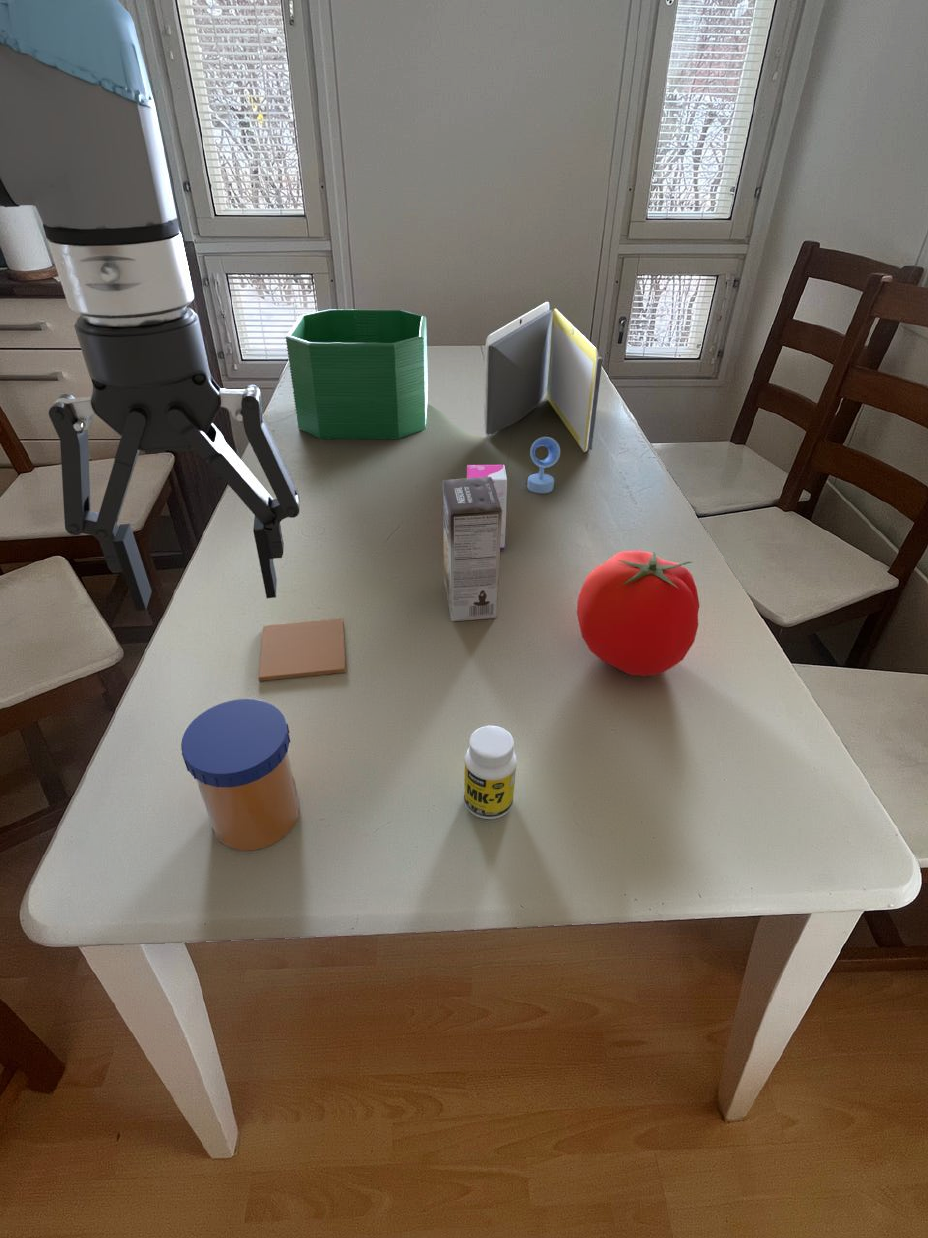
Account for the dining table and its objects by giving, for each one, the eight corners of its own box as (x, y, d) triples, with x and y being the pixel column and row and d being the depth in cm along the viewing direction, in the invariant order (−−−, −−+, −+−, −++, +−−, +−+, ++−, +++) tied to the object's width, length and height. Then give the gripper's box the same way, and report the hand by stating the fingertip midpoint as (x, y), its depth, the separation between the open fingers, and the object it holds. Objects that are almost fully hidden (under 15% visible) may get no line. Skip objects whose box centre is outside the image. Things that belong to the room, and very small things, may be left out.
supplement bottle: (458, 815, 65) (458, 755, 60) (470, 777, 69) (471, 717, 64) (508, 825, 65) (512, 765, 60) (517, 786, 68) (522, 727, 63)
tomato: (708, 689, 80) (737, 592, 71) (595, 705, 77) (612, 606, 69) (652, 610, 92) (671, 519, 84) (553, 622, 90) (563, 529, 81)
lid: (182, 798, 56) (177, 784, 54) (187, 721, 62) (182, 708, 61) (293, 776, 57) (290, 762, 56) (286, 704, 64) (284, 690, 63)
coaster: (258, 681, 80) (258, 677, 80) (264, 629, 88) (263, 625, 88) (345, 672, 82) (345, 668, 81) (343, 621, 89) (342, 617, 89)
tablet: (604, 452, 132) (619, 347, 121) (493, 460, 129) (497, 352, 117) (554, 390, 160) (562, 300, 148) (461, 395, 157) (462, 303, 145)
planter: (293, 439, 136) (279, 343, 125) (314, 393, 157) (303, 308, 146) (425, 439, 137) (422, 344, 126) (428, 394, 157) (426, 309, 146)
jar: (207, 856, 62) (179, 780, 55) (218, 786, 68) (194, 710, 62) (298, 844, 63) (281, 768, 57) (300, 776, 69) (285, 701, 63)
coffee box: (442, 583, 97) (441, 477, 87) (487, 580, 97) (491, 475, 88) (450, 623, 89) (450, 512, 80) (499, 619, 90) (504, 509, 80)
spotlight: (556, 497, 117) (552, 479, 123) (562, 441, 111) (558, 425, 117) (527, 497, 117) (525, 479, 123) (531, 441, 111) (528, 425, 117)
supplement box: (502, 531, 108) (506, 463, 101) (504, 551, 103) (508, 481, 97) (465, 531, 108) (466, 463, 101) (466, 551, 103) (466, 481, 96)
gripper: (-81, 333, 40) (54, 636, 53) (311, 319, 43) (344, 607, 57) (-32, 302, 46) (78, 582, 59) (310, 292, 49) (340, 559, 63)
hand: (208, 594), depth 58 cm, fingers open, 10 cm apart
